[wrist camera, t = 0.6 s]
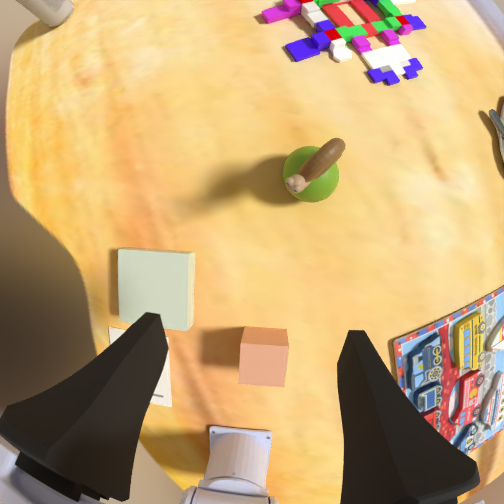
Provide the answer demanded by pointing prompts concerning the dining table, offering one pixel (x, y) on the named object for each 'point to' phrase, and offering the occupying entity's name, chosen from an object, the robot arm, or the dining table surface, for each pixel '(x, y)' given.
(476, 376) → the puzzle board
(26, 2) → the energy drink can
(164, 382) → the page
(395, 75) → the building block set
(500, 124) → the salad plate
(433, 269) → the dining table surface
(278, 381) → the top brick
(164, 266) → the base brick
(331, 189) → the snail figurine
